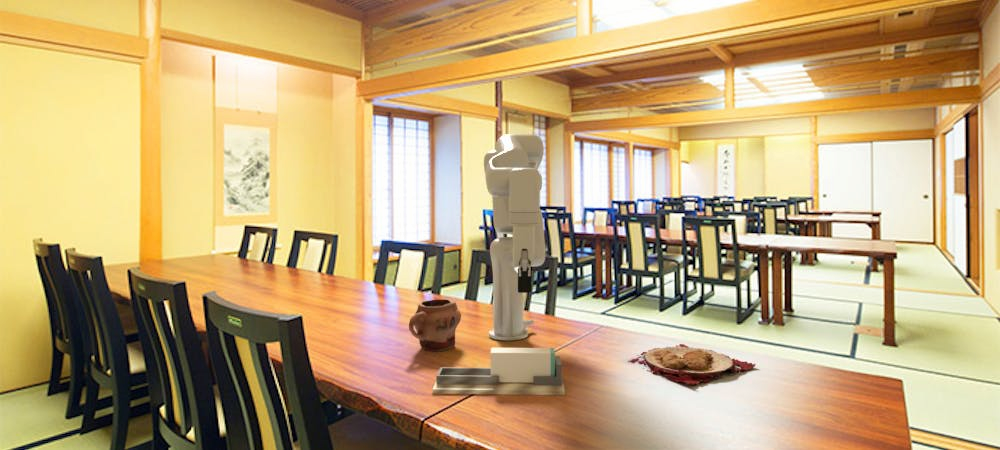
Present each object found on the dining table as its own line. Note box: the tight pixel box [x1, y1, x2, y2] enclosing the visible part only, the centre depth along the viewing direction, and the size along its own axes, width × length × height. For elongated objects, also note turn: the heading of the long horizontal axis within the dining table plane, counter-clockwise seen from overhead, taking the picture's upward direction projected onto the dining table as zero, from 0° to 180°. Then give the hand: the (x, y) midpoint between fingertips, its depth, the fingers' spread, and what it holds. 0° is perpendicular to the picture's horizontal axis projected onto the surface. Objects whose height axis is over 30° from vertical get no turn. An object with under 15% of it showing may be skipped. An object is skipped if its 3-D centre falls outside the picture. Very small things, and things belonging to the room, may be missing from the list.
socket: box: [533, 355, 563, 386], centre depth 120 cm, size 6×6×5 cm
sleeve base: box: [432, 366, 566, 396], centre depth 121 cm, size 30×12×3 cm, turn 87°
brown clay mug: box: [408, 298, 462, 352], centre depth 149 cm, size 20×12×14 cm, turn 150°
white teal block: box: [489, 347, 556, 383], centre depth 120 cm, size 15×4×7 cm, turn 87°
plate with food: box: [627, 343, 757, 386], centre depth 134 cm, size 24×26×4 cm
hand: (524, 287), depth 125 cm, fingers open, 9 cm apart
